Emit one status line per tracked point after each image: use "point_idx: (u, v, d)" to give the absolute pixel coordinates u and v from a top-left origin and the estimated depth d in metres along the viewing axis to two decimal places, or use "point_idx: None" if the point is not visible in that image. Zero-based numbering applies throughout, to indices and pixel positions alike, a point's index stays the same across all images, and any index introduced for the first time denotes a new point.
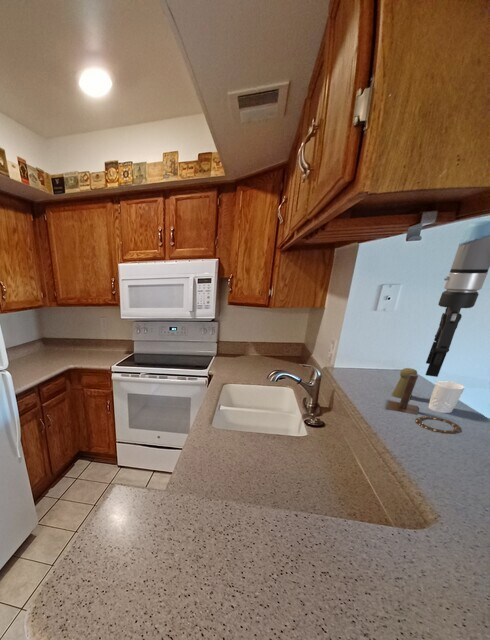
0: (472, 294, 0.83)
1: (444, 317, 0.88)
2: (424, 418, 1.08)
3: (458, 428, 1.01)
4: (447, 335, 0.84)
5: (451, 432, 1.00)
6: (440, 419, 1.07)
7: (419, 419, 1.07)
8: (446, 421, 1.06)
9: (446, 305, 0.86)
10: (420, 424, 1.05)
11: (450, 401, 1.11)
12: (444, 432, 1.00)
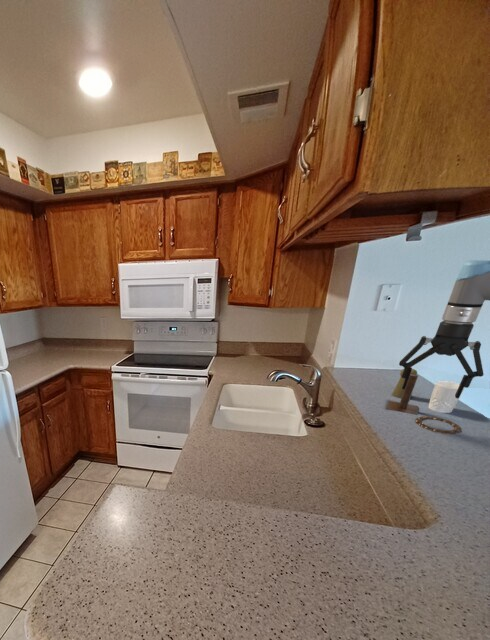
0: None
1: (457, 347, 0.93)
2: (424, 418, 1.08)
3: (458, 428, 1.01)
4: (480, 361, 0.93)
5: (451, 432, 1.00)
6: (440, 419, 1.07)
7: (419, 419, 1.07)
8: (446, 421, 1.06)
9: (467, 336, 0.91)
10: (420, 424, 1.05)
11: (450, 401, 1.11)
12: (444, 432, 1.00)
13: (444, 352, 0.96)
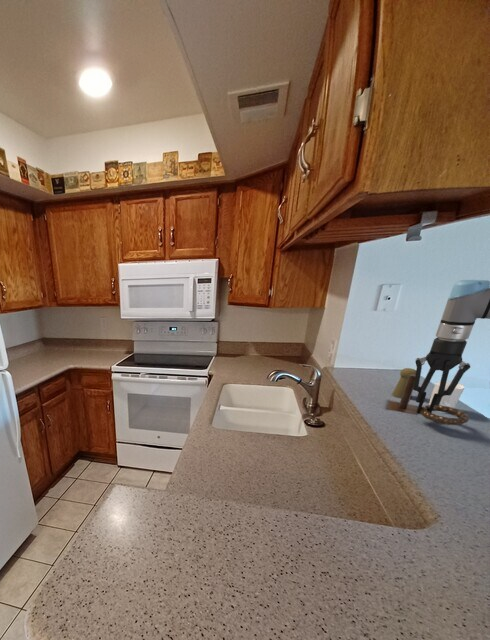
0: None
1: (450, 364, 0.96)
2: None
3: (465, 416, 0.99)
4: None
5: (458, 420, 0.97)
6: (446, 407, 1.05)
7: (424, 407, 1.05)
8: (452, 409, 1.04)
9: (460, 353, 0.93)
10: (426, 412, 1.02)
11: (450, 401, 1.11)
12: (451, 420, 0.98)
13: (439, 368, 0.98)
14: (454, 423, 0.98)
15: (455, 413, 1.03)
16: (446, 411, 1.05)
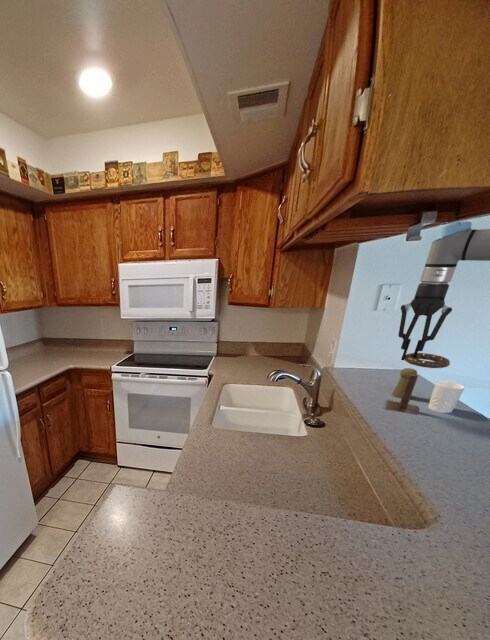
0: None
1: (433, 308, 1.00)
2: None
3: (446, 360, 1.03)
4: (440, 326, 1.02)
5: (439, 363, 1.02)
6: (429, 354, 1.09)
7: (409, 354, 1.09)
8: (435, 356, 1.08)
9: (443, 296, 0.97)
10: (410, 358, 1.06)
11: (450, 401, 1.11)
12: (433, 363, 1.02)
13: (423, 313, 1.02)
14: (436, 366, 1.02)
15: (438, 359, 1.07)
16: (429, 358, 1.09)
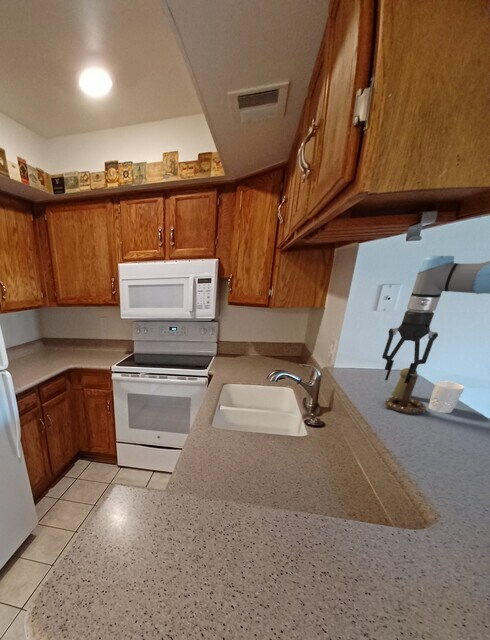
0: None
1: (419, 334, 1.05)
2: (394, 398, 1.20)
3: (423, 406, 1.13)
4: (429, 350, 1.06)
5: (416, 409, 1.11)
6: None
7: (389, 399, 1.19)
8: (414, 401, 1.17)
9: (428, 323, 1.02)
10: (390, 403, 1.16)
11: (450, 401, 1.11)
12: (410, 409, 1.11)
13: (409, 338, 1.07)
14: (413, 412, 1.11)
15: (416, 404, 1.16)
16: None
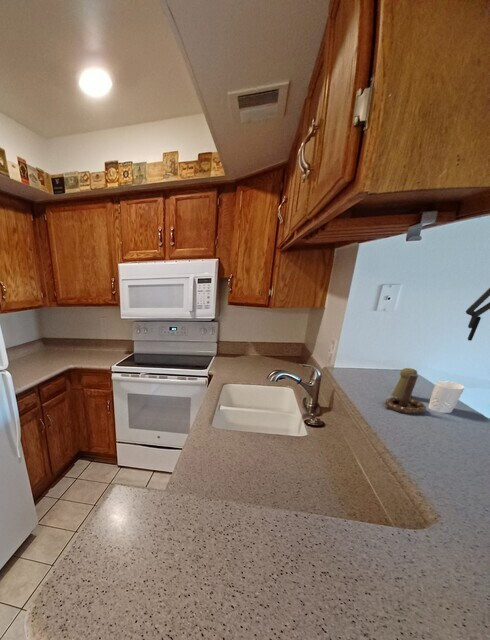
0: None
1: None
2: (394, 398, 1.20)
3: (423, 406, 1.13)
4: None
5: (416, 409, 1.11)
6: None
7: (389, 399, 1.19)
8: (413, 401, 1.17)
9: None
10: (389, 403, 1.16)
11: (450, 401, 1.11)
12: (410, 409, 1.11)
13: None
14: (413, 412, 1.11)
15: (416, 404, 1.17)
16: None
